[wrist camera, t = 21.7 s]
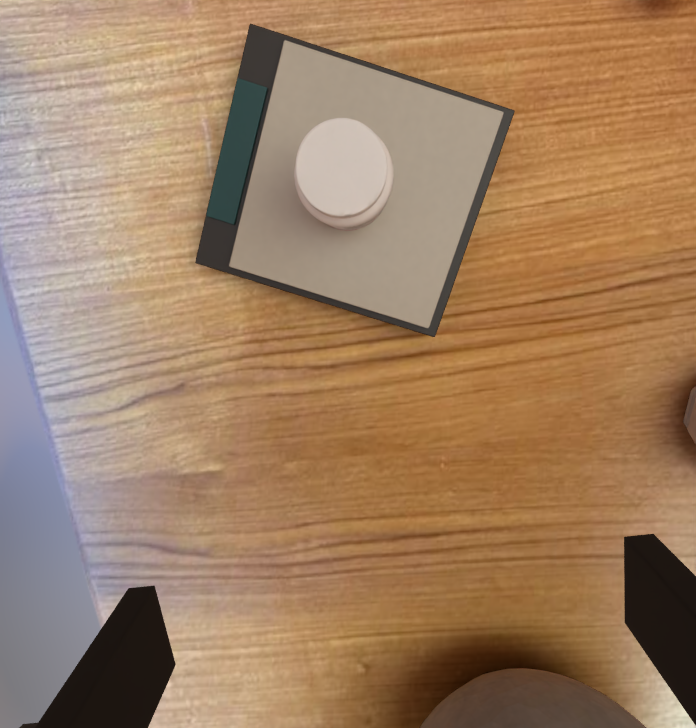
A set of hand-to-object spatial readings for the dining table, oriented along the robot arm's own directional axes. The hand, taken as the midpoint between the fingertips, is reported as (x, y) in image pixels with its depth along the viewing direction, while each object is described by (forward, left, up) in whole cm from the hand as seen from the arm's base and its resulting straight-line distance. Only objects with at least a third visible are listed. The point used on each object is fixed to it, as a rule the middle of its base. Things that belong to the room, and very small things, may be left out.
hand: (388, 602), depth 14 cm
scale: (-6, +12, -22) cm, 26 cm away
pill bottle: (-6, +12, -19) cm, 23 cm away
